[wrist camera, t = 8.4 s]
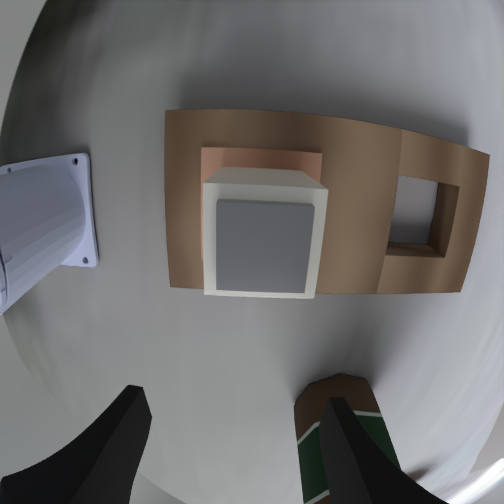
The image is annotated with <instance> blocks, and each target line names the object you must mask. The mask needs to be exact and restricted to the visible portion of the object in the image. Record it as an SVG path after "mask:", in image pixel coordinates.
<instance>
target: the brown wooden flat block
mask: <svg viewBox="0 0 504 504" xmlns="http://www.w3.org/2000/svg"><path fill="white" fill-rule="evenodd" d="M489 159H490V155H489V154H486V153H483V152H480V151H477V150H474V149H471V148H468V147H465V146H462V145H459V144H456V143H453V142H449V141H446V140H442V139H439V138H435V137H431V136H428V135H424V134H420V133H416V132H412V131H407V130H403V129H399V128H394V127H389V126H384V125H379V124H374V123H369V122H363V121H357V120H351V119H345V118H338V117H331V116H323V115H314V114H305V113H295V112H283V111H268V110H247V109H187V110H166V111H165V213H166V235H167V252H168V266H169V279H170V287H177V288H193V289H204V269H203V183H204V182H205V181H206V180H207V179H208V178H209V177H210V176H211V175H212V174H214V173H215V172H216V171H217V170H218V169H219V168H220V167H244V168H266V169H283V170H297V171H303V172H304V173H305V174H307V175H308V176H310V177H311V178H313V179H314V180H316V181H317V182H318V183H320V184H321V185H323V186H324V187H325V188H327V189H328V198H327V208H326V216H325V225H324V233H323V241H322V248H321V256H320V263H319V270H318V276H317V283H316V289H315V293H325V294H411V293H452V292H461V289H462V286H463V283H464V280H465V276H466V273H467V270H468V267H469V263H470V260H471V256H472V252H473V248H474V245H475V241H476V236H477V232H478V228H479V223H480V218H481V213H482V208H483V203H484V197H485V191H486V184H487V176H488V168H489ZM398 175H403V176H409V177H414V178H420V179H425V180H431V181H436V182H439V184H438V191H437V197H436V203H435V209H434V215H433V220H432V225H431V230H430V235H429V239H428V244H427V245H425V244H410V243H395V242H388V239H389V233H390V228H391V222H392V216H393V210H394V203H395V197H396V189H397V182H398Z"/></svg>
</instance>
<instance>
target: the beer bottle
mask: <svg viewBox="0 0 504 504" xmlns="http://www.w3.org/2000/svg"><path fill="white" fill-rule="evenodd" d="M333 397H344V398H345V399H346V400H347V402H348V404H349V405H350V407H351V408H352V410H353V411H354V413H355V414H356V416H357V417H358V419H359V420H360V422H361V423H362V425H363V426H364V427H365V429H366V430H367V431H368V433H369V434H370V435H371V437H372V438H373V439H374V441H375V442H376V443H377V444H378V446H379V447H380V448H381V449H382V450H383V452H384V453H385V454H386V455H387V456H388V457H389V458H390V459H391V460H392V461H393V462H394V464H395V465H397V466H398V467H399V468H400V465H399V462H398V459H397V456H396V453H395V450H394V447H393V444H392V442H391V439H390V436H389V433H388V430H387V428H386V425H385V422H384V420H383V417H382V414H381V412H380V409H379V406H378V404H377V401H376V399H375V396H374V393H373V391H372V389H371V387H370V385H369V383H368V381H367V380H366V379H364V378H359V377H354V376H349V375H344V374H337V375H334V376H332V377H329V378H326V379H324V380H321V381H318V382H315V383H312V384H309V386H308V387H307V388H306V390H305V391H304V392H303V394H302V395H301V396H300V398H299V399H298V400H297V402H296V403H295V405H294V420H295V429H296V437H297V446H298V455H299V464H300V473H301V482H302V491H303V501H304V504H331V503H330V495H329V489H328V484H327V479H326V474H325V470H324V465H323V460H322V455H321V450H320V441H319V428H318V426H319V424H320V421H321V418H322V415H323V413H324V410H325V407H326V404H327V401H328V398H333ZM400 469H401V468H400Z"/></svg>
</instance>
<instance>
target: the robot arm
mask: <svg viewBox="0 0 504 504" xmlns="http://www.w3.org/2000/svg"><path fill="white" fill-rule="evenodd" d="M76 158H77V159H78V163H77V164H76V163H75V159H76ZM10 169H11V171H10ZM85 257H86V258H87V259H88V262H87V261H86V260H85ZM98 263H99V257H98V250H97V243H96V236H95V228H94V219H93V208H92V197H91V182H90V160H89V156H88V154H86V153H77V154H69V155H62V156H55V157H48V158H42V159H35V160H30V161H24V162H19V163H14V164H9V165H4V166H1V167H0V315H1V314H2V313H4V312H5V311H6V310H7V309H8V308H9V307H10V306H11V305H12V304H13V303H15V302H16V301H17V300H18V299H19V298H20V297H21V296H22V295H23V294H25V293H26V292H27V291H28V290H29V289H30V288H31V287H33V286H34V285H35V284H36V283H37V282H39V281H40V280H41V279H42V278H43V277H44V276H46V275H47V274H48V273H49V272H51V271H52V270H53V269H54V268H55V267H57V266H58V265H71V266H83V267H95V266H96V265H97V264H98ZM151 420H152V415H151V412H150V409H149V406H148V403H147V400H146V396H145V393H144V390H143V387H139V386H134V385H128V386H126V388H125V389H124V390H123V391H122V392H121V393H120V394H119V395H118V397H117V398H116V399H115V400H114V401H113V402H112V403H111V404H110V405H109V407H108V408H107V409H106V410H105V411H104V412H103V413H102V414H101V415H100V416H99V417H98V418H97V419H96V420H95V421H94V422H93V423H92V424H91V425H90V426H89V427H88V428H86V429H85V430H84V431H83V432H82V433H81V434H80V435H79V436H78V437H76V438H75V439H74V440H73V441H71V442H70V443H69V444H68V445H66V446H65V447H63V448H62V449H61V450H59V451H58V452H56V453H54V454H53V455H51V456H50V457H49V458H47V459H45V460H43V461H41V462H39V463H37V464H35V465H33V466H31V467H29V468H27V469H24V470H22V471H19V472H16V473H14V474H11V475H8V476H5V477H3V478H2V480H1V482H0V504H129V500H130V495H131V489H132V485H133V481H134V478H135V475H136V472H137V469H138V466H139V463H140V460H141V457H142V454H143V451H144V448H145V445H146V442H147V439H148V435H149V430H150V425H151ZM318 428H319V441H320V450H321V455H322V460H323V465H324V470H325V474H326V479H327V484H328V489H329V495H330V503H331V504H449V503H447V502H445V501H443V500H441V499H439V498H438V497H436V496H435V495H433V494H431V493H430V492H428V491H427V490H425V489H424V488H423V487H421V486H420V485H419V484H417V483H416V482H415V481H413V480H412V479H411V478H410V477H409V476H407V475H406V474H405V473H404V472H403V471H402V470H401V469H400V468H399V467H398V466H397V465H395V464H394V462H393V461H392V460H391V459H390V458H389V457H388V456H387V455H386V454H385V453H384V452H383V450H382V449H381V448H380V447H379V446H378V444H377V443H376V442H375V441H374V439H373V438H372V437H371V435H370V434H369V433H368V431H367V430H366V429H365V427H364V426H363V425H362V423H361V422H360V420H359V419H358V417H357V416H356V414H355V413H354V411H353V410H352V408H351V407H350V405H349V404H348V402H347V400H346V399H345V398H344V397H333V398H328V401H327V404H326V407H325V410H324V413H323V415H322V418H321V421H320V424H319V426H318Z"/></svg>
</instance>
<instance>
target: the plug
mask: <svg viewBox="0 0 504 504" xmlns="http://www.w3.org/2000/svg"><path fill="white" fill-rule="evenodd" d="M327 198H328V189H327V188H325V187H324V186H323V185H321V184H320V183H318V182H317V181H316V180H314V179H313V178H311V177H310V176H308V175H307V174H305V173H304V172H303V171H297V170H283V169H266V168H244V167H220V168H219V169H218V170H217V171H216V172H215V173H214V174H212V175H211V176H210V177H209V178H208V179H207V180H206V181H205V182H204V183H203V269H204V295H220V296H241V297H266V298H301V299H314V296H315V289H316V283H317V276H318V270H319V263H320V256H321V248H322V241H323V233H324V225H325V216H326V208H327Z"/></svg>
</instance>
